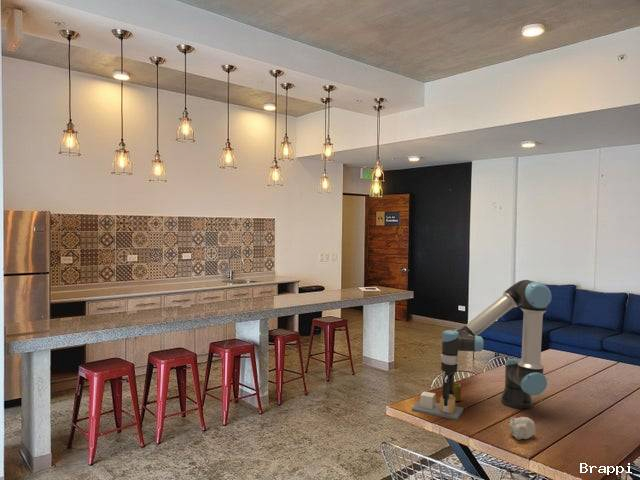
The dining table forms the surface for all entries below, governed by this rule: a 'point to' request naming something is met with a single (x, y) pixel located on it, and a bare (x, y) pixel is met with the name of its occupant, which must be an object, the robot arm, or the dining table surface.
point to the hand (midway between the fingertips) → (447, 409)
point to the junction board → (434, 407)
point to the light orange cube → (451, 404)
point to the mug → (457, 392)
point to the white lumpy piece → (522, 427)
